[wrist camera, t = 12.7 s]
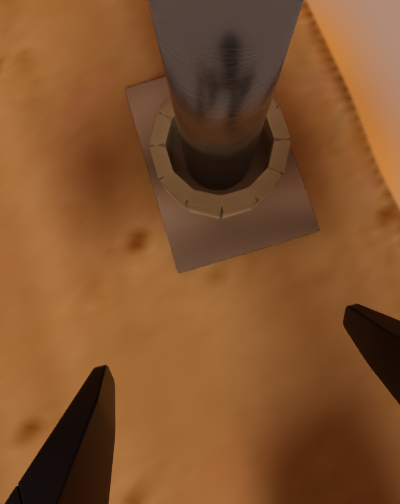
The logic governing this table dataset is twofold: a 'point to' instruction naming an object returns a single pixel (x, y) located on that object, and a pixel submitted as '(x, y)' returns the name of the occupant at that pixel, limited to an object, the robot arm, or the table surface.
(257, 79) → the hinge pin
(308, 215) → the beige socket base plate
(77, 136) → the table surface
